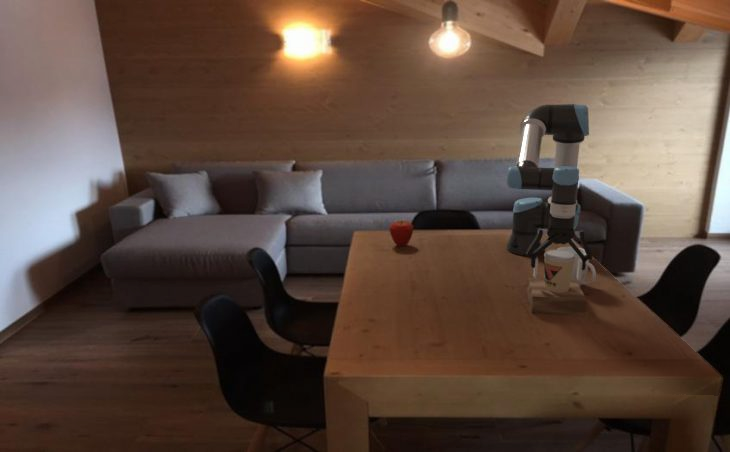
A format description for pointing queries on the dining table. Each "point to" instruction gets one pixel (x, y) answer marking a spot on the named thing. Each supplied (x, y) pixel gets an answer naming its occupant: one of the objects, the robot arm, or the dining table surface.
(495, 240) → the dining table surface
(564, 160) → the robot arm
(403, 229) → the apple
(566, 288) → the coffee cup
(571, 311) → the riser
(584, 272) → the mug
